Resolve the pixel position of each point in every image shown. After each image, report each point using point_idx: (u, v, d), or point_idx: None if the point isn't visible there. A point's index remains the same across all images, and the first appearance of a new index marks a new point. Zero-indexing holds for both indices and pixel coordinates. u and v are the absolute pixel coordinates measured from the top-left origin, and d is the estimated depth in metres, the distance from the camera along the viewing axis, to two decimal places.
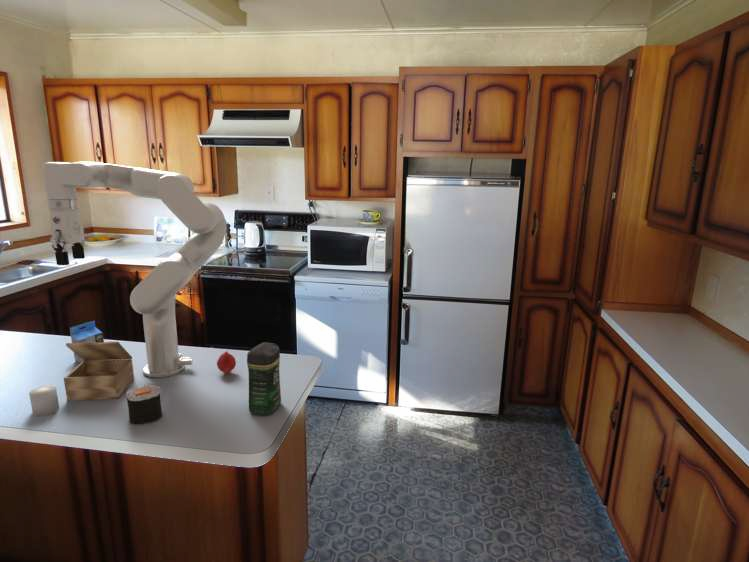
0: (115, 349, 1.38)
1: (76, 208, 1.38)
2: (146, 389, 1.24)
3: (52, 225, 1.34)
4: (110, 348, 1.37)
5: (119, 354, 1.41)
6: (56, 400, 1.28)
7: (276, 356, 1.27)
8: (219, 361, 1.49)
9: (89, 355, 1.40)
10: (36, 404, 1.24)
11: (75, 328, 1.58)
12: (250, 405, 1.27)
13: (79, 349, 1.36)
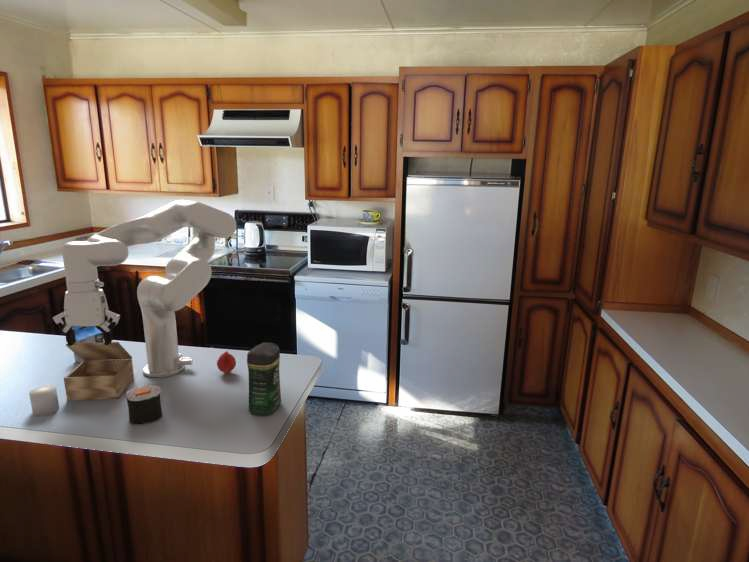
0: (115, 349, 1.38)
1: None
2: (146, 389, 1.24)
3: (101, 306, 1.30)
4: (110, 348, 1.37)
5: (119, 354, 1.41)
6: (56, 400, 1.28)
7: (276, 356, 1.27)
8: (219, 361, 1.49)
9: (89, 355, 1.40)
10: (36, 404, 1.24)
11: (75, 328, 1.58)
12: (250, 405, 1.27)
13: (79, 349, 1.36)
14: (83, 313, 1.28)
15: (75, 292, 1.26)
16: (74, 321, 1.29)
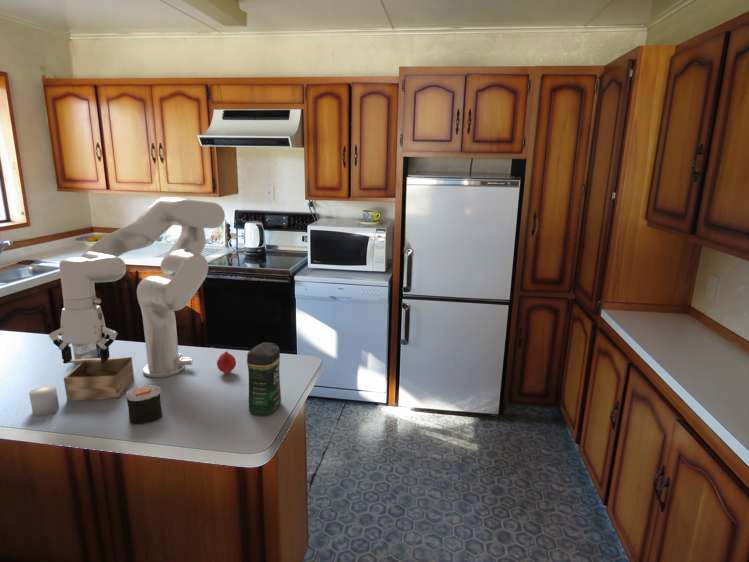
0: None
1: None
2: (146, 389, 1.24)
3: (98, 323, 1.28)
4: None
5: None
6: (56, 400, 1.28)
7: (276, 356, 1.27)
8: (219, 361, 1.49)
9: None
10: (36, 404, 1.24)
11: None
12: (250, 405, 1.27)
13: None
14: (80, 330, 1.27)
15: (72, 309, 1.24)
16: (71, 338, 1.27)
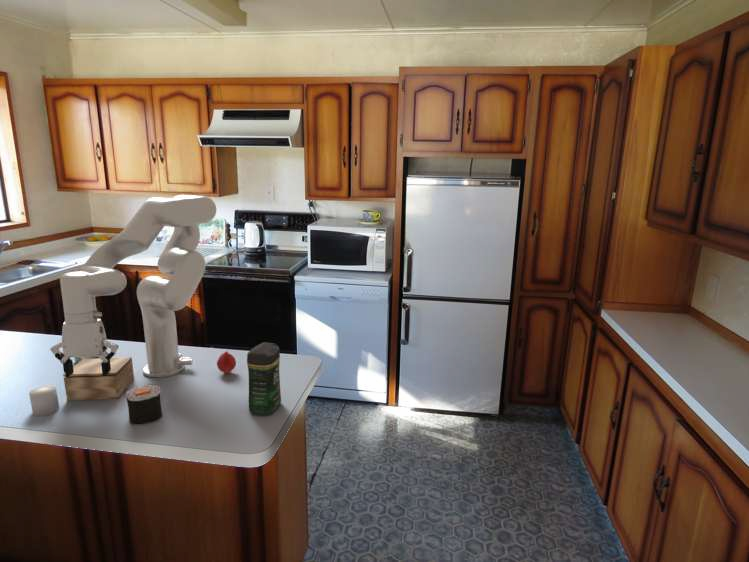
0: None
1: None
2: (146, 389, 1.24)
3: (99, 336, 1.29)
4: None
5: None
6: (56, 400, 1.28)
7: (276, 356, 1.27)
8: (219, 361, 1.49)
9: None
10: (36, 404, 1.24)
11: None
12: (250, 405, 1.27)
13: None
14: (81, 344, 1.27)
15: (73, 323, 1.25)
16: (72, 352, 1.28)
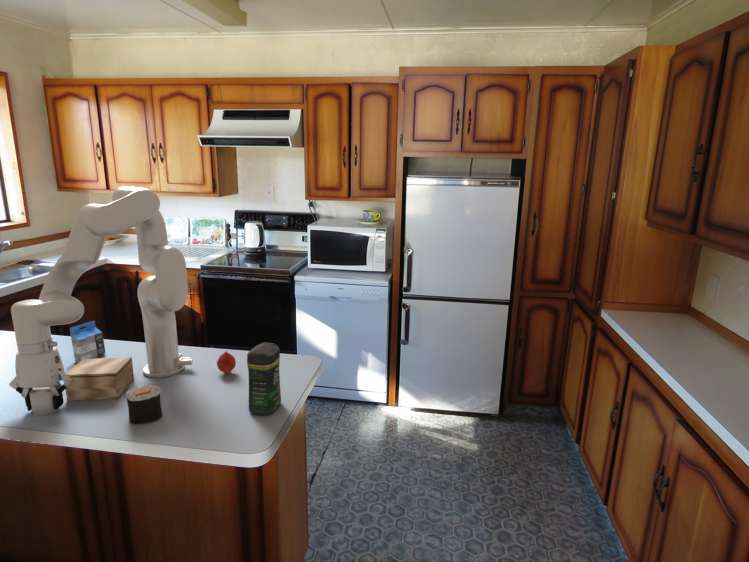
0: None
1: None
2: (146, 389, 1.24)
3: (55, 366, 1.24)
4: None
5: None
6: None
7: (276, 356, 1.27)
8: (219, 361, 1.49)
9: None
10: (36, 404, 1.24)
11: (75, 328, 1.58)
12: (250, 405, 1.27)
13: None
14: (35, 375, 1.23)
15: (26, 354, 1.20)
16: (27, 383, 1.23)
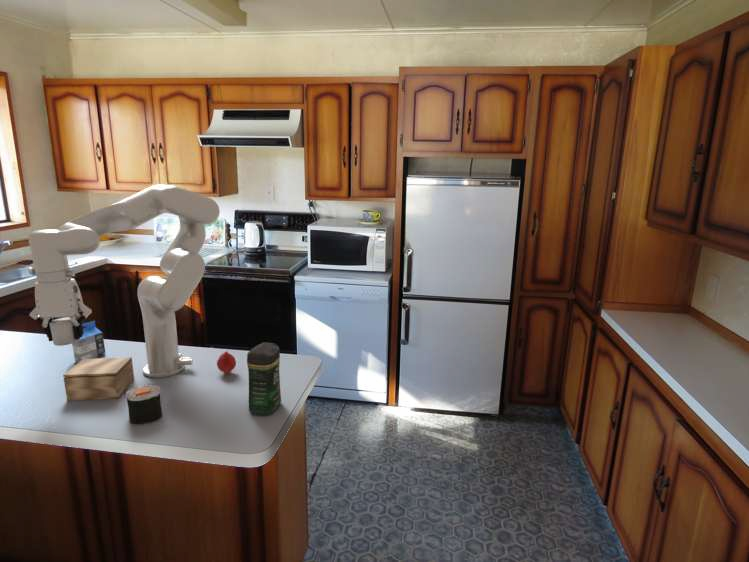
0: None
1: None
2: (146, 389, 1.24)
3: (74, 296, 1.25)
4: None
5: None
6: None
7: (276, 356, 1.27)
8: (219, 361, 1.49)
9: None
10: (56, 334, 1.26)
11: None
12: (250, 405, 1.27)
13: None
14: (55, 304, 1.24)
15: (45, 282, 1.21)
16: (47, 312, 1.24)
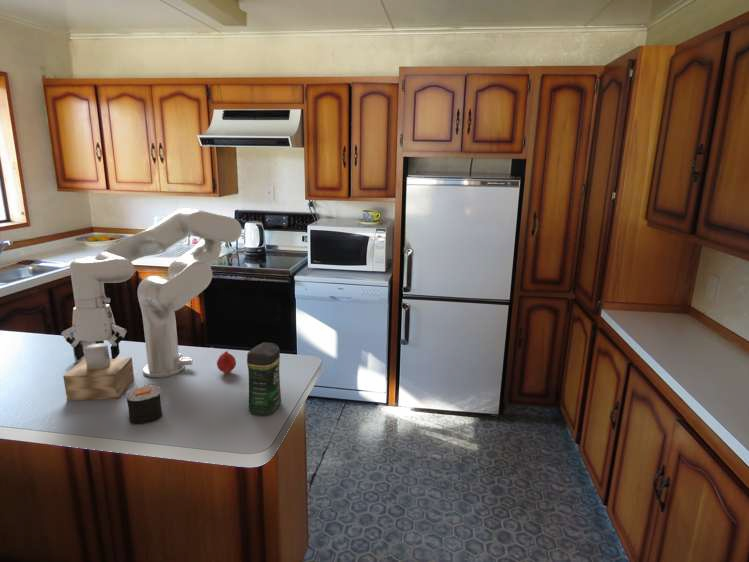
0: None
1: None
2: (146, 389, 1.24)
3: (108, 321, 1.34)
4: None
5: None
6: (108, 356, 1.38)
7: (276, 356, 1.27)
8: (219, 361, 1.49)
9: None
10: (91, 359, 1.34)
11: None
12: (250, 405, 1.27)
13: None
14: (91, 328, 1.32)
15: (83, 308, 1.30)
16: (82, 336, 1.33)
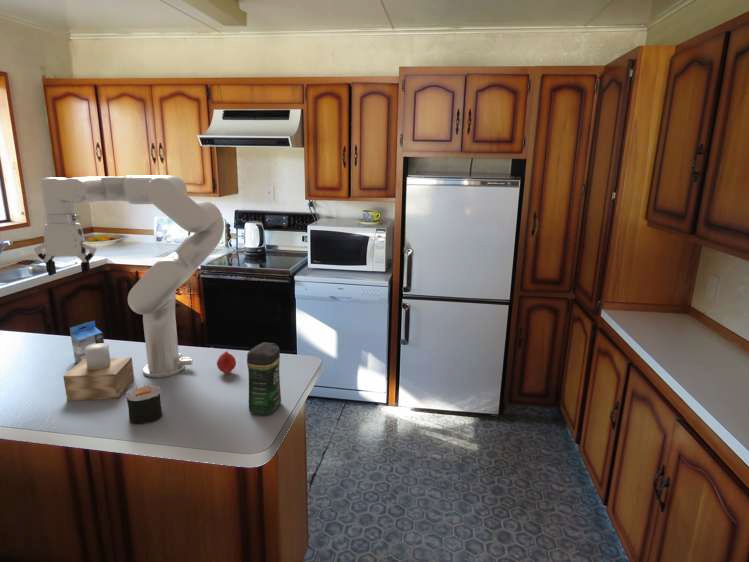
0: None
1: None
2: (146, 389, 1.24)
3: (78, 237, 1.41)
4: None
5: None
6: (109, 356, 1.38)
7: (276, 356, 1.27)
8: (219, 361, 1.49)
9: None
10: (92, 359, 1.34)
11: (75, 328, 1.58)
12: (250, 405, 1.27)
13: None
14: (61, 244, 1.40)
15: (53, 223, 1.37)
16: (54, 251, 1.40)
